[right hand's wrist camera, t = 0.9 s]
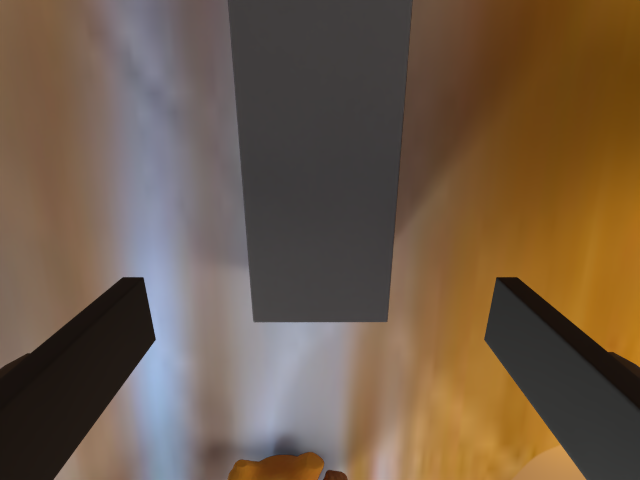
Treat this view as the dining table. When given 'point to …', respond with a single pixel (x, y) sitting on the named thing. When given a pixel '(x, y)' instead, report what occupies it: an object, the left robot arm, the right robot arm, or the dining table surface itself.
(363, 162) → the long gray bar
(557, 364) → the right robot arm
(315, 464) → the toy
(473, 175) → the dining table surface
